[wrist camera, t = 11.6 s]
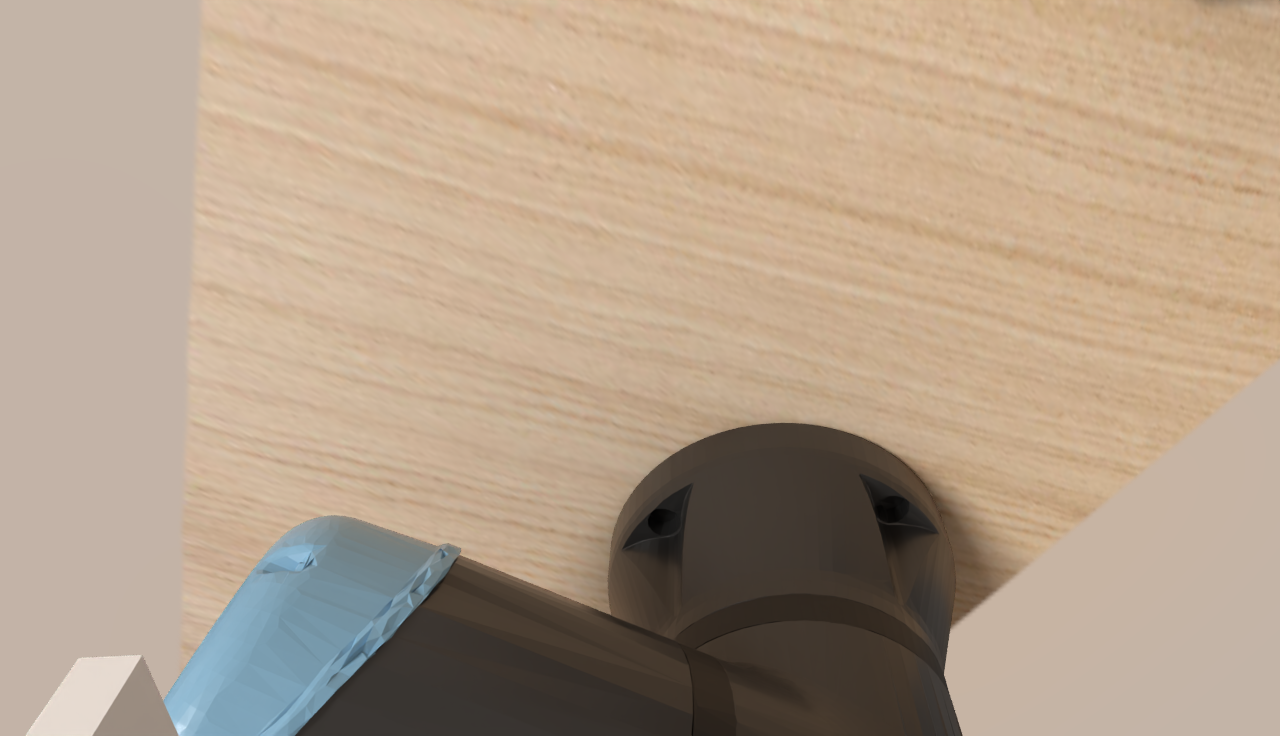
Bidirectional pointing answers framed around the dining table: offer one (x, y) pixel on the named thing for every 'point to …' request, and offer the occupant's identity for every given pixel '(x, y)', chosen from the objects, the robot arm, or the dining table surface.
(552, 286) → the dining table surface
